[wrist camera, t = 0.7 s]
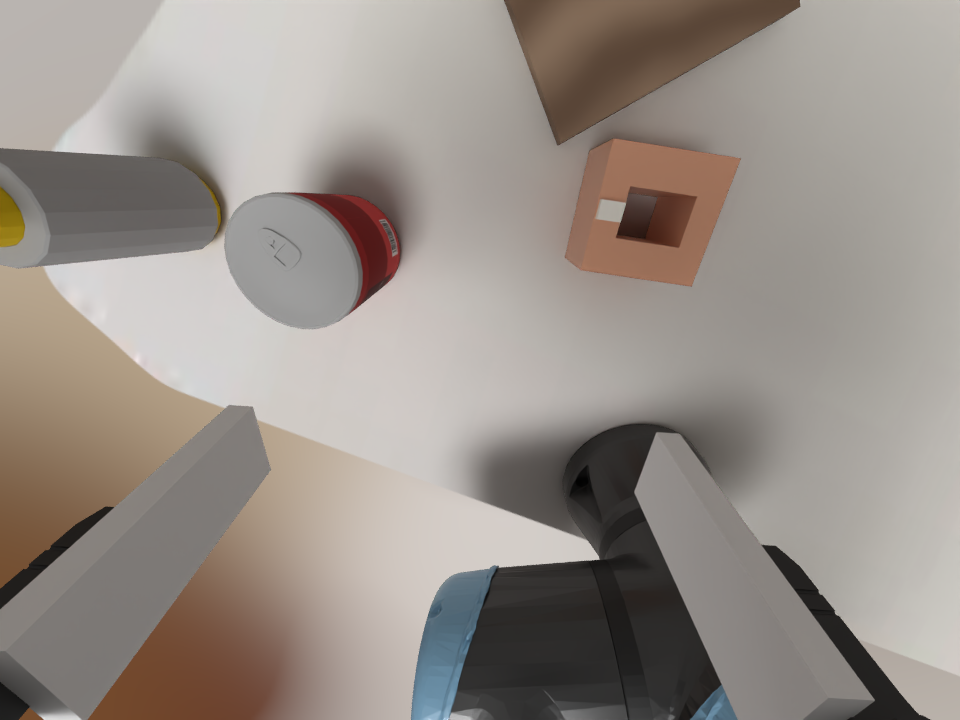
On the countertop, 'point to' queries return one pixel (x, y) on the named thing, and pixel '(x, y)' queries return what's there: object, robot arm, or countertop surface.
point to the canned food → (310, 255)
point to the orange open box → (676, 217)
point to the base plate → (624, 48)
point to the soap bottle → (99, 208)
